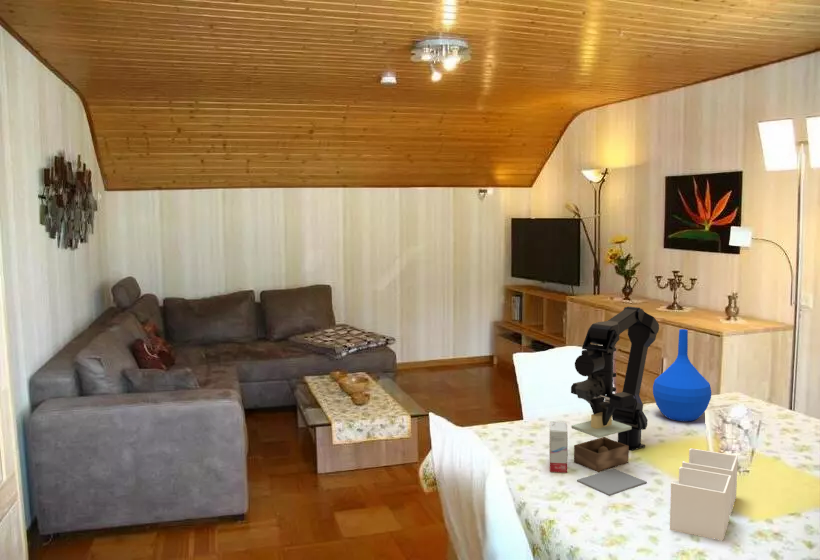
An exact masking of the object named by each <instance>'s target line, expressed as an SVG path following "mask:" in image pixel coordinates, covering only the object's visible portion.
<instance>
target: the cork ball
mask: <svg viewBox="0 0 820 560" xmlns="http://www.w3.org/2000/svg"><path fill="white" fill-rule="evenodd" d="M605 451H608V449H607V448H606V447H604V446H602V447H600V448H599V449H598V453H601V452H605Z"/></svg>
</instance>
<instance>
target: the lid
mask: <svg viewBox="0 0 820 560" xmlns="http://www.w3.org/2000/svg"><path fill="white" fill-rule="evenodd" d="M590 419H591V420H588V421H584V422H579V423H576V424H571V426H570V427H571V429H572V430H575V431H578V432H581V433H583V434H586V435H588V436H589V435H590V436H592V437H595V438H596V439H598V438H602V437H607V436H611V435H615V434H618V433H619V432H623V431H627V430H630V429H632V426H629V425H626V424H623V423H620V422H617V421H614V420H612V415H611V417H610V419H609V421H608V423H607V425H605V426H604V425H603V421H602V412H600V413H596V414H591V416H590Z"/></svg>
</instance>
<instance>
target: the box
mask: <svg viewBox="0 0 820 560" xmlns="http://www.w3.org/2000/svg"><path fill="white" fill-rule="evenodd" d="M602 446H604V447H606V448H607V449H608V451H605V452H601V453H598V449H599V448H600V447H602ZM629 451H630V450H629V446H628V445H625V444H622V443H619V442H618V440H617V441H616V440H614V439H611V438H609V437H607V436H605V437H601V438H595V439H590V440H589V441H585V442H581V443H577V444H574V446H573V463H575V464H577V465H580V466H582V467H584V468H586V469H589V470H591V471H594V472H596V473H600V472H604V471H607V470H610V469H613V468H614V469H615V468H617V467H621V466H623V465H624V466H625V465H627V464H629V459H630V458H629V455H630V454H629V453H630V452H629Z"/></svg>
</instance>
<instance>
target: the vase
mask: <svg viewBox="0 0 820 560" xmlns="http://www.w3.org/2000/svg"><path fill="white" fill-rule="evenodd" d="M688 335H689V334H688V329H683V328H681V329H679V330H678V347H677V349H678V350H677V356H676V358H675V360H674V361H673V362H672V363H671V365H669V367H667V368H666V369H665V370H664V371H663V372H662V373H661V374H659V375H658V376H657V377H656V378H655V379H654V381H653V385H652V395H653V398H654V402H655V404H656V406H657V408H658V410H659V411H660V412H661V413H662V414H663V416H665V418H667V419H669V420H673V421H677V422H693V421H696V420H697V419H699V418H701V417H702V415H704V413H705V411H706V410H707V408H708V406H709V404H710V402H711V399H712V388H711V384H710V382H709V381H708V380H707V379H706V378H705V377H704V376H703V375H702V374H701V372H699V371H698V370H697V368H696V367H695V366H694V365H693V364H692V362H691V361H690V359H689V355H688V354H689V353H688V352H689V351H688V350H689V349H688V345H689V343H688V342H689V340H688V338H689V336H688Z"/></svg>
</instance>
